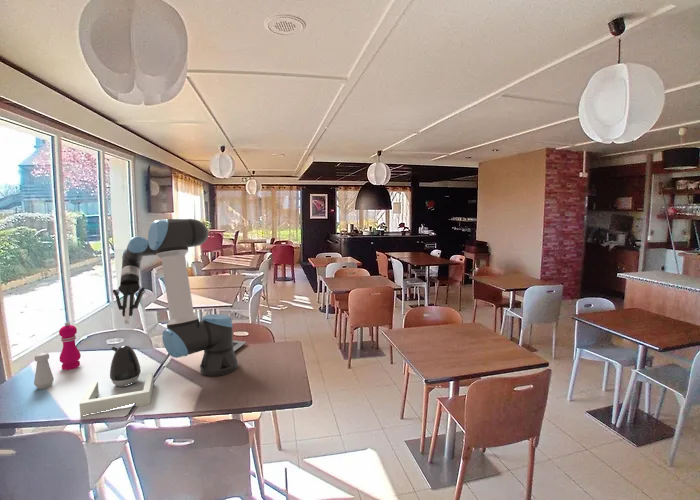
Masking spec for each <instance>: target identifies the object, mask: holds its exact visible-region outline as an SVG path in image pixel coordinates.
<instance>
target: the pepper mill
mask: <svg viewBox="0 0 700 500" xmlns="http://www.w3.org/2000/svg"><path fill="white" fill-rule="evenodd" d="M77 333H78V330H77V327H76V326H75V325H73V324H71V322H69V321H65V323H64V325H63V326H62V327H61V328H59V330H58V334H59V336H60V337H61V338H60V340H61V342H62V350H61V352H60V355H59V362H60V363H62V364H61V370H63V371H71V370H75V369H77V368H79V367H80V366H81V361H79V360H81V356H82V355H81V352H80V350H79V349H78V347H77V345H76V339H77V338H76V337H77V335H76V334H77Z"/></svg>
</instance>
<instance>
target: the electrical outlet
mask: <svg viewBox="0 0 700 500" xmlns="http://www.w3.org/2000/svg"><path fill="white" fill-rule="evenodd" d="M247 342H248V341H244V340H243V341H242V340H241V341H240V340H233V350H234V353H235V352H236V351H238V350H239V349H240V348H242V347H243V346H245V345H246V344H247Z"/></svg>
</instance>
